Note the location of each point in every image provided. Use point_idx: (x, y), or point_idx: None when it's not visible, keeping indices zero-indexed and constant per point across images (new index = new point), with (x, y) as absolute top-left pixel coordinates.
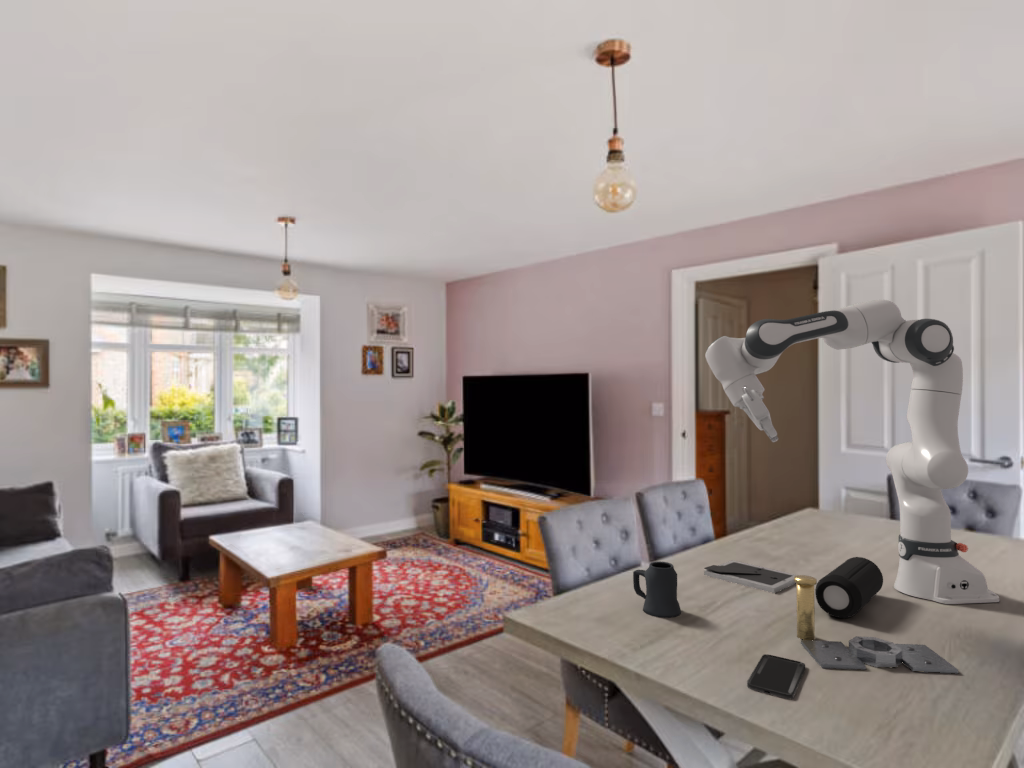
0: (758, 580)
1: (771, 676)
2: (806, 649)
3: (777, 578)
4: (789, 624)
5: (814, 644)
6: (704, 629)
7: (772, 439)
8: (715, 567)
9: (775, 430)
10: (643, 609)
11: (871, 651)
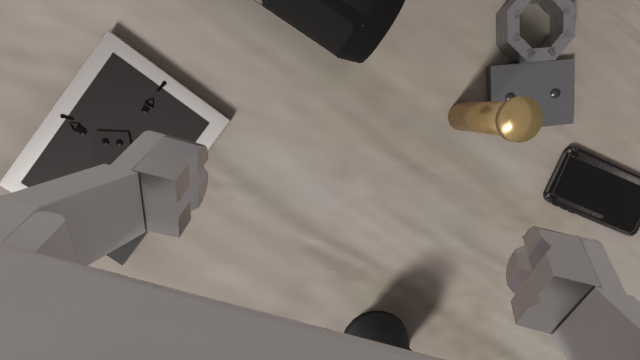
0: None
1: (610, 201)
2: None
3: (150, 97)
4: (406, 130)
5: None
6: (448, 275)
7: (197, 195)
8: None
9: (612, 266)
10: None
11: (565, 39)
